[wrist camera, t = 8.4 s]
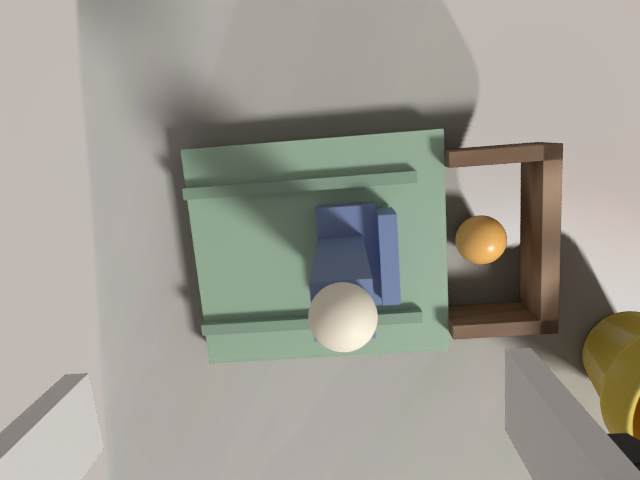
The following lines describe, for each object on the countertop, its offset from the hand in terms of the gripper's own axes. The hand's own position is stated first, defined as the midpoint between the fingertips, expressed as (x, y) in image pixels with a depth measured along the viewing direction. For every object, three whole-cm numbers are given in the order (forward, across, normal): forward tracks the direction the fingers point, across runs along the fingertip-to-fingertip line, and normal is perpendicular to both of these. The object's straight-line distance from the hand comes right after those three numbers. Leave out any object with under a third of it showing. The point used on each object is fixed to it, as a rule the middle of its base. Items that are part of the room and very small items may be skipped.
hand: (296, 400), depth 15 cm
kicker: (+20, +2, 0) cm, 20 cm away
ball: (+21, +12, 0) cm, 24 cm away
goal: (+23, +12, 0) cm, 26 cm away
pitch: (+23, 0, 0) cm, 23 cm away
